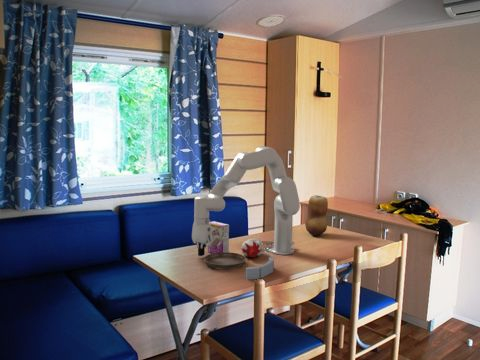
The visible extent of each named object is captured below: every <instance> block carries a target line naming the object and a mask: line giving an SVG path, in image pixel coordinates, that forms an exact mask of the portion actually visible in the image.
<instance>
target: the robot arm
mask: <svg viewBox="0 0 480 360" xmlns="http://www.w3.org/2000/svg"><path fill="white" fill-rule="evenodd" d="M264 167H267V170H268V173H269V178H270V182H271V187H272V190H273V191H275V192H276V193H278V195H277V196H275V199H274V202H273V208H274V209H273V210H274V228H273V230H274V231H273V232H274V234H273V237H274V238H273V247H271V248H270V252H271V253H272V254H276V255H285V256H286V255H292V254H294V253H295V249H294V248H293V247H292V246H294V245H295V242H294V241H293V238H292V237H293V216H294V215H296V214H298V212H299V210H300V207H301V206H300V205H301V204H300V197H299V193H298V189H297V185H296V182H295V181H294V179H293V178H291V177H289V176H288V175H287V172H286V168H285V164H284V161H283V159H282V157H281V156H280V155H279V154H278V153H277V150H276V149H275V148H273V147H270V146H264V145H261V146H257V147H256V149H255V150H254V151H252V152H247V151H246V152H245V151H241V152H238V153H237V154H236V156H235V157H234V159H233V161H232V162H231V163H230V165H229V167H228V168H227V170H226V171H225V173H224V174H223V176H221V178H220V179H219V180H218V181H217V182H216V183H215V184H214V185H213V187H212V189H211V190H210V192H209V194H208V195H207V196H206V195H197V196H196V197H194V206H193V207H194V208H193V212H194V215H193V220H194V221H193V222H192V223H193V224H192V229H191V230H192V231H191V240H192V243H193V244H195V245H196V247H197V256H199V257H204V256H205V255H206V254H205V251H206V250H205V248H206V247H208V246H210V242H211V241H212V231H211V225H210V223H209V222H211V219H210V211H211V212H221V211H223V210H224V209H225V208H226V201H225V200H224V196H225V195H226V193H227V192H228V191H229V190H231V189H232V188H234V187H236V186H237V185H238V184H239V183H240V182H241V180H242V178H243V177H244V175H245V173H247V171H253V170H256V169H260V168H264Z"/></svg>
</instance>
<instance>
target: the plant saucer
mask: <svg viewBox="0 0 480 360" xmlns="http://www.w3.org/2000/svg"><path fill="white" fill-rule="evenodd" d="M203 257H204V258H203V260H204V263H206V264H207V266H209V267H210V268H212V269H217V270H233V269H236V268H239V267H241V266H242V265H243V264H244V263H245V262H246V259H247V257H246V256H244V254H241V253H236V252H221V253H210V254H207V255H206V256H205V255H204V256H203Z"/></svg>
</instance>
